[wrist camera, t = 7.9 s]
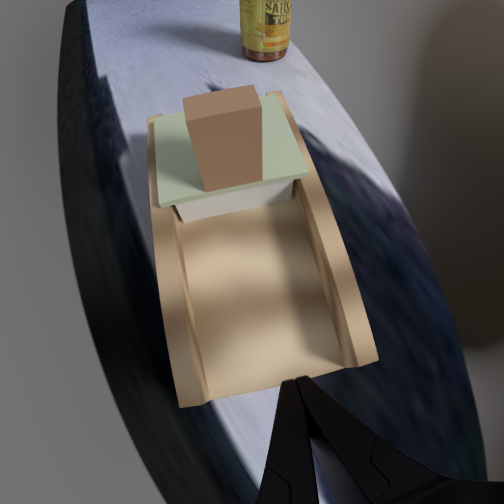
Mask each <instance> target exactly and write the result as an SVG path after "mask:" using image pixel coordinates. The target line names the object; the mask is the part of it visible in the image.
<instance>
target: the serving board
mask: <svg viewBox="0 0 504 504" xmlns="http://www.w3.org/2000/svg"><path fill="white" fill-rule="evenodd" d="M272 94H276V96H277V98H278V100H279V102H280V104H281V107H282V109H283V111H284V114H285V116H286V118H287V120H288V123H289V125H290V127H291V130H292V132H293V134H294V137H295V139H296V142H297V144H298V146H299V149H300V151H301V154H302V156H303V159H304V161H305V164H306V166H307V169H308V171H309V174H308V177H305V178H299V179H294V181H293V188H292V195H291V200H288V201H283V202H278V203H273V204H268V205H263V206H259V207H254V208H249V209H244V210H240V211H235V212H230V213H226V214H221V215H217V216H212V217H208V218H203V219H199V220H195V221H190V222H186V223H184V222H183V220H182V218H181V216H180V214H179V212H178V210H177V208H176V206H175V205H171V206H167V207H163V208H161V207H160V205H159V199H158V186H157V172H156V155H155V133H154V118H158V117H162V114H159V115H155V116H152V117H148V118H147V149H148V175H149V193H150V208H151V221H152V233H153V243H154V253H155V262H156V271H157V279H158V287H159V294H160V302H161V309H162V315H163V322H164V328H165V334H166V340H167V346H168V352H169V357H170V362H171V368H172V373H173V378H174V383H175V388H176V392H177V397H178V402H179V406H180V408H182V407H190V406H197V405H202V404H204V403H206V402H208V401H209V400H212V399H218V398H224V397H229V396H235V395H240V394H245V393H250V392H254V391H259V390H263V389H268V388H272V387H277V386H281V382H282V381H284V380H288V379H294V380H295V378H296V377H300V376H303V375H307V376H309V377H310V378H312V377H315V376H319V375H322V374H326V373H329V372H333V371H336V370H339V369H342V368H348V367H360V366H363V365H366V364H369V363H371V362H374V361H377V360H379V359H378V355H377V351H376V347H375V344H374V340H373V336H372V333H371V329H370V325H369V322H368V318H367V315H366V312H365V308H364V305H363V302H362V298H361V295H360V292H359V289H358V285H357V282H356V279H355V276H354V273H353V270H352V267H351V264H350V261H349V258H348V255H347V252H346V249H345V246H344V243H343V240H342V238H341V235H340V232H339V229H338V226H337V224H336V221H335V218H334V215H333V213H332V210H331V207H330V205H329V202H328V199H327V197H326V194H325V192H324V189H323V187H322V184H321V182H320V179H319V177H318V174H317V172H316V169H315V167H314V164H313V162H312V159H311V157H310V155H309V152H308V150H307V148H306V145H305V143H304V141H303V138H302V136H301V134H300V132H299V129H298V127H297V125H296V123H295V120H294V118H293V116H292V114H291V112H290V109H289V107H288V105H287V103H286V101H285V99H284V97H283V94H282V92H281V91H275V92H267V93H266V95H272Z"/></svg>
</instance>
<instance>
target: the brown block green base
mask: <svg viewBox="0 0 504 504" xmlns="http://www.w3.org/2000/svg"><path fill="white" fill-rule="evenodd" d="M183 106H184V111H182V112H178V113H174V114H170V115H166V116H162V117H158V118H154V133H155V155H156V172H157V186H158V199H159V205H160V207H161V208H163V207H167V206H171V205H176V204H180V203H184V202H188V201H192V200H197V199H201V198H205V197H210V196H214V195H219V194H224V193H228V192H233V191H238V190H242V189H247V188H252V187H257V186H262V185H267V184H272V183H278V182H283V181H288V180H294V179H299V178H305V177H308V174H309V171H308V169H307V166H306V164H305V161H304V159H303V156H302V154H301V151H300V149H299V146H298V144H297V142H296V139H295V137H294V134H293V132H292V130H291V127H290V125H289V123H288V120H287V118H286V116H285V114H284V111H283V109H282V107H281V104H280V102H279V100H278V98H277V96H276V94H272V95H265V96H258V95H257V93H256V90H255V88H254V85H248V86H242V87H236V88H230V89H225V90H220V91H214V92H209V93H205V94H200V95H195V96H191V97H187V98H183Z"/></svg>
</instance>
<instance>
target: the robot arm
mask: <svg viewBox="0 0 504 504" xmlns="http://www.w3.org/2000/svg"><path fill="white" fill-rule="evenodd" d="M311 445H312V447H313V449H314V451H315V454H316V456H317V458H318V460H319V462H320V465H321V467H322V469H323V471H324V473H325V476H326V478H327V480H328V482H329V484H330V487H331V489H332V491H333V493H334V495H335V497H336V500H337V502H338V504H504V482H495V481H473V480H460V479H453V478H449V477H446V476H444V475H441V474H439V473H437V472H435V471H434V470H432V469H430V468H428V467H426V466H424V465H423V464H421V463H419V462H417V461H415V460H414V459H412V458H410V457H408V456H407V455H405V454H404V453H402V452H400V451H399V450H397V449H396V448H394V447H393V446H392V445H390V444H389V443H388V442H386V441H385V440H384V439H382V438H381V437H380V436H379V435H376V433H375V432H374V431H372V430H371V429H370V428H369V427H368V426H366V425H365V424H364V423H363V422H361V421H360V420H359V419H358V418H357V417H355V416H354V415H353V414H352V413H351V412H349V411H348V410H347V409H346V408H345V407H344V406H342V405H341V404H340V403H339V402H338V401H336V400H335V399H334V398H333V397H332V396H331V395H329V394H328V393H327V392H326V391H325V390H324V389H323V388H321V387H320V386H319V385H318V384H317V383H316V382H315V381H313V380H312V379H311V378H310V377H309V376H307V375H303V376H300V377H296V378H295V380H294V379H288V380H284V381H282V382H281V386H280V392H279V397H278V403H277V408H276V414H275V419H274V425H273V430H272V435H271V440H270V445H269V450H268V455H267V460H266V465H265V466H266V467H265V469H264V474H263V478H262V482H261V486H260V490H259V493H258V496H257V498H256V501H255V504H319V498H318V490H317V483H316V476H315V469H314V462H313V455H312V449H311Z"/></svg>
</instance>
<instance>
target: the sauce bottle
mask: <svg viewBox="0 0 504 504" xmlns="http://www.w3.org/2000/svg"><path fill="white" fill-rule="evenodd" d="M239 1H240V28H241V43H242V45H243V46H242V47H243V49H242V51H243V53H244V55H245V56H246V57H248V58H250V59H253V60H256V61H273V60H277V59H281V58H282V57H284V55H285V54H286V52H287V48H288V45H289V38H290V23H291V7H292V0H239Z"/></svg>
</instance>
